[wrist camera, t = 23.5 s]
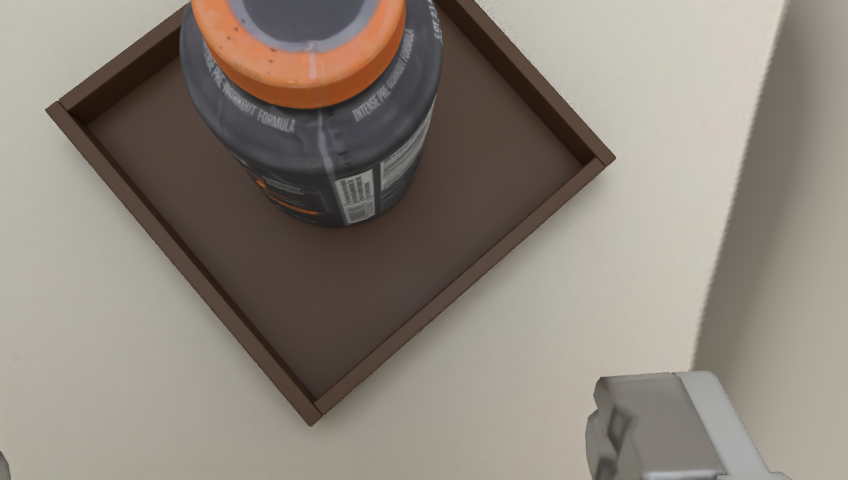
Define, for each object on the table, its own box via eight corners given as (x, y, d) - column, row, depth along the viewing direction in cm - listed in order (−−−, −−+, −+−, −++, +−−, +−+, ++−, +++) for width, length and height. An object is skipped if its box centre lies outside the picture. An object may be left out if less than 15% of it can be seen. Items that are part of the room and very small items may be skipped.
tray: (316, 419, 23) (310, 427, 21) (71, 128, 24) (43, 109, 22) (598, 172, 25) (617, 157, 23) (361, -92, 26) (359, -127, 24)
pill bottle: (214, 121, 24) (64, -73, 12) (359, 31, 24) (341, -228, 13) (311, 265, 23) (246, 198, 12) (456, 169, 24) (522, 22, 13)
